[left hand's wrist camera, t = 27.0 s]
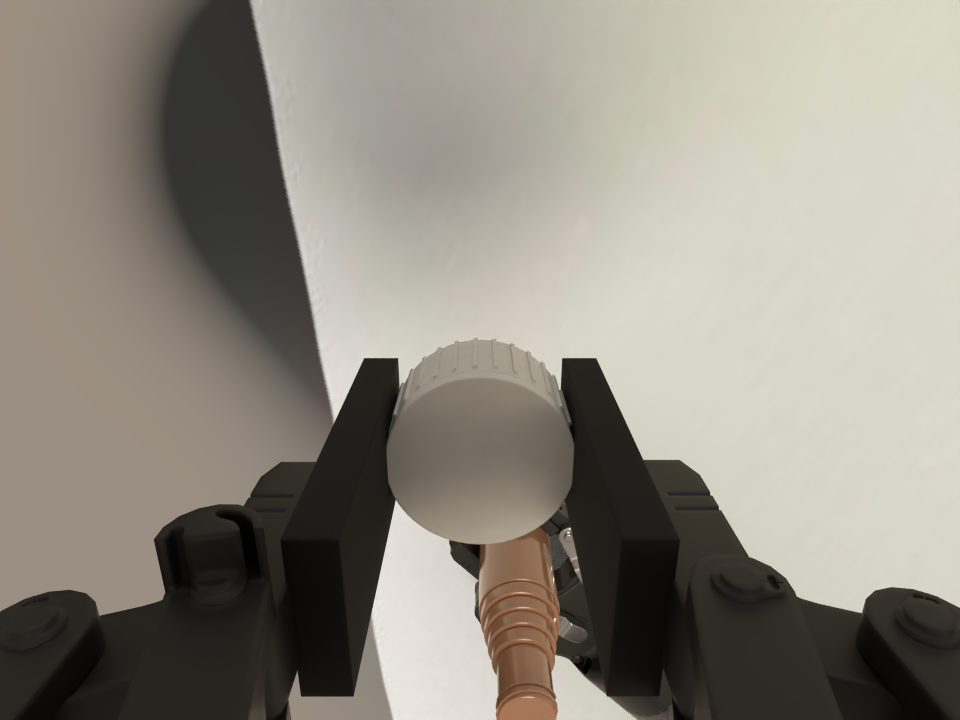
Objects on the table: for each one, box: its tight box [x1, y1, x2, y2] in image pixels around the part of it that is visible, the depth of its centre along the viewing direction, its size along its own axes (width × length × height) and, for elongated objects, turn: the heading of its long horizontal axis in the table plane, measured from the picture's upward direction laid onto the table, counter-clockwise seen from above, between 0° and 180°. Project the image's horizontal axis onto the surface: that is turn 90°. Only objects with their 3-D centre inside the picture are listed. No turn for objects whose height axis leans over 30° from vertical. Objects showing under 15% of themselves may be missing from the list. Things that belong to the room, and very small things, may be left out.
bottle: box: [479, 526, 560, 720], centre depth 37 cm, size 4×4×19 cm
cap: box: [386, 338, 574, 544], centre depth 14 cm, size 4×4×2 cm
